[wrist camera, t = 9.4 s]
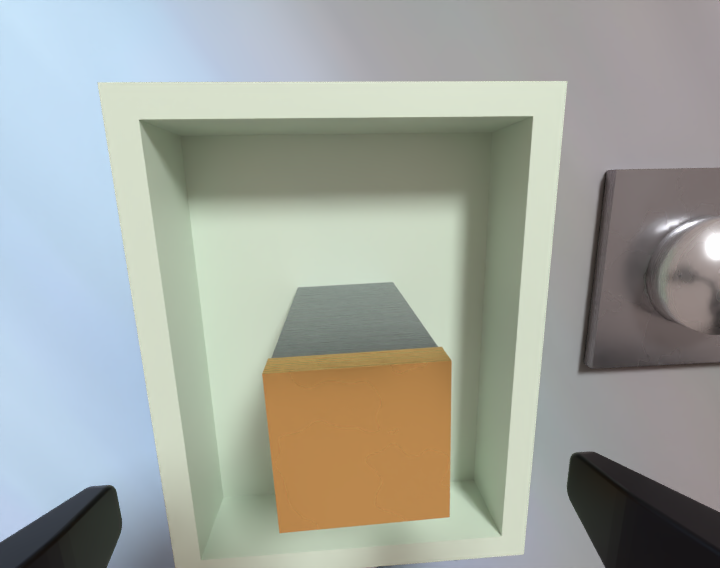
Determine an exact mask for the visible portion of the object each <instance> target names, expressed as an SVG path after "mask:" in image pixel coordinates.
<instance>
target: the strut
mask: <svg viewBox="0 0 720 568" xmlns="http://www.w3.org/2000/svg"><path fill="white" fill-rule="evenodd" d="M262 378H263V387H264V396H265V405H266V415H267V424H268V433H269V442H270V451H271V461H272V470H273V479H274V488H275V497H276V507H277V516H278V525H279V533H288V532H299V531H309V530H320V529H331V528H341V527H352V526H363V525H373V524H384V523H395V522H405V521H416V520H427V519H437V518H448V517H450V456H451V379H452V360H451V359H450V358H449V356H448V355H447V353H446V352H445V351H444V349H443V348H442V347H438V346H437V344H436V343H435V342H434V340H433V339H432V337H431V336H430V334H429V333H428V332H427V330H426V329H425V327H424V326H423V324H422V323H421V321H420V320H419V319H418V317H417V316H416V314H415V313H414V311H413V310H412V309H411V307H410V306H409V304H408V303H407V301H406V300H405V299H404V297H403V296H402V294H401V293H400V291H399V290H398V289H397V287H396V286H395V284H394V283H393V282H384V283H366V284H349V285H331V286H314V287H298V288H297V291H296V294H295V296H294V299H293V302H292V304H291V307H290V310H289V312H288V315H287V318H286V320H285V323H284V326H283V328H282V331H281V334H280V336H279V339H278V342H277V344H276V347H275V350H274V352H273V355H272V358H268V360H267V363H266V365H265V368H264V370H263V373H262Z"/></svg>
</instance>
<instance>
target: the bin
mask: <svg viewBox="0 0 720 568" xmlns="http://www.w3.org/2000/svg"><path fill="white" fill-rule="evenodd" d="M98 89H99V95H100V101H101V107H102V114H103V120H104V126H105V132H106V139H107V145H108V151H109V157H110V164H111V170H112V176H113V182H114V189H115V195H116V201H117V207H118V214H119V220H120V226H121V232H122V238H123V245H124V251H125V257H126V263H127V270H128V276H129V282H130V288H131V295H132V301H133V307H134V313H135V320H136V326H137V332H138V338H139V345H140V351H141V357H142V363H143V370H144V376H145V382H146V388H147V395H148V401H149V407H150V413H151V420H152V426H153V432H154V438H155V445H156V451H157V457H158V463H159V470H160V476H161V482H162V488H163V495H164V501H165V507H166V513H167V519H168V526H169V532H170V538H171V544H172V551H173V557H174V563H175V568H366V567H378V566H390V565H402V564H414V563H426V562H438V561H450V560H462V559H474V558H486V557H498V556H510V555H523V554H524V545H525V534H526V523H527V512H528V502H529V491H530V480H531V469H532V458H533V447H534V436H535V426H536V415H537V404H538V393H539V382H540V371H541V361H542V350H543V339H544V328H545V317H546V306H547V295H548V285H549V274H550V263H551V252H552V241H553V230H554V219H555V209H556V198H557V187H558V176H559V165H560V154H561V143H562V133H563V122H564V111H565V100H566V89H567V81H459V82H112V83H98ZM384 282H393V283H394V284H395V286H396V287H397V289H398V290H399V291H400V293H401V294H402V296H403V297H404V299H405V300H406V301H407V303H408V304H409V306H410V307H411V309H412V310H413V311H414V313H415V314H416V316H417V317H418V319H419V320H420V321H421V323H422V324H423V326H424V327H425V329H426V330H427V332H428V333H429V334H430V336H431V337H432V339H433V340H434V342H435V343H436V344H437V346H438V347H442V348H443V349H444V351H445V352H446V353H447V355H448V356H449V358H450V359H451V360H452V379H451V456H450V517H448V518H437V519H427V520H416V521H405V522H395V523H384V524H373V525H363V526H352V527H341V528H331V529H320V530H309V531H299V532H288V533H279V525H278V516H277V507H276V497H275V488H274V479H273V470H272V461H271V451H270V442H269V433H268V424H267V415H266V405H265V396H264V387H263V378H262V373H263V370H264V368H265V365H266V363H267V360H268V358H272V355H273V352H274V350H275V347H276V344H277V342H278V339H279V336H280V334H281V331H282V328H283V326H284V323H285V320H286V318H287V315H288V312H289V310H290V307H291V304H292V302H293V299H294V296H295V294H296V291H297V288H298V287H314V286H331V285H349V284H366V283H384Z"/></svg>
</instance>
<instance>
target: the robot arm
mask: <svg viewBox="0 0 720 568" xmlns="http://www.w3.org/2000/svg"><path fill="white" fill-rule="evenodd" d="M567 492H568V496H569V499H570V501H571V503H572V505H573V507H574V509H575V511H576V513H577V515H578V516H579V518H580V520H581V522H582V524H583V526H584V528H585V530H586V532H587V534H588V536H589V537H590V539H591V541H592V543H593V545H594V547H595V549H596V551H597V553H598V555H599V556H600V558H601V560H602V562H603V564H604V566H605V568H720V512H718V511H716V510H714V509H712V508H710V507H707V506H705V505H703V504H701V503H699V502H697V501H695V500H693V499H691V498H689V497H687V496H685V495H683V494H680V493H678V492H676V491H674V490H672V489H670V488H668V487H666V486H664V485H662V484H660V483H658V482H656V481H654V480H651V479H649V478H647V477H645V476H643V475H641V474H639V473H637V472H635V471H633V470H631V469H629V468H627V467H625V466H622V465H620V464H618V463H616V462H614V461H612V460H610V459H608V458H606V457H604V456H602V455H600V454H598V453H595V452H576V453H574V454H572V456H571V458H570V464H569V472H568V481H567ZM121 528H122V518H121V513H120V508H119V502H118V497H117V492H116V489H115V488H114V487H113V486H111V485H102V486H91V487H88V488H86V489H84V490H83V491H81V492H80V493H78V494H76V495H75V496H73V497H72V498H70V499H69V500H67V501H65V502H64V503H62V504H61V505H59V506H57V507H56V508H54V509H53V510H51V511H50V512H48V513H46V514H45V515H43V516H42V517H40V518H38V519H37V520H35V521H34V522H32V523H30V524H29V525H27V526H26V527H24V528H23V529H21V530H19V531H18V532H16V533H15V534H13V535H11V536H10V537H8V538H7V539H5V540H3V541H2V542H0V568H107V566H108V563H109V561H110V558H111V556H112V553H113V551H114V548H115V546H116V543H117V541H118V539H119V536H120V533H121Z"/></svg>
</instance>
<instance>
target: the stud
mask: <svg viewBox="0 0 720 568" xmlns="http://www.w3.org/2000/svg"><path fill="white" fill-rule="evenodd" d="M711 362H720V168H682V169H627V170H608V171H607V173H606V181H605V190H604V198H603V206H602V215H601V223H600V232H599V240H598V248H597V257H596V265H595V274H594V282H593V290H592V299H591V307H590V316H589V324H588V332H587V341H586V349H585V358H584V364H586V365H587V366H589V367H590V368H592V369H595V368H615V367H634V366H653V365H672V364H692V363H711Z"/></svg>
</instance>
